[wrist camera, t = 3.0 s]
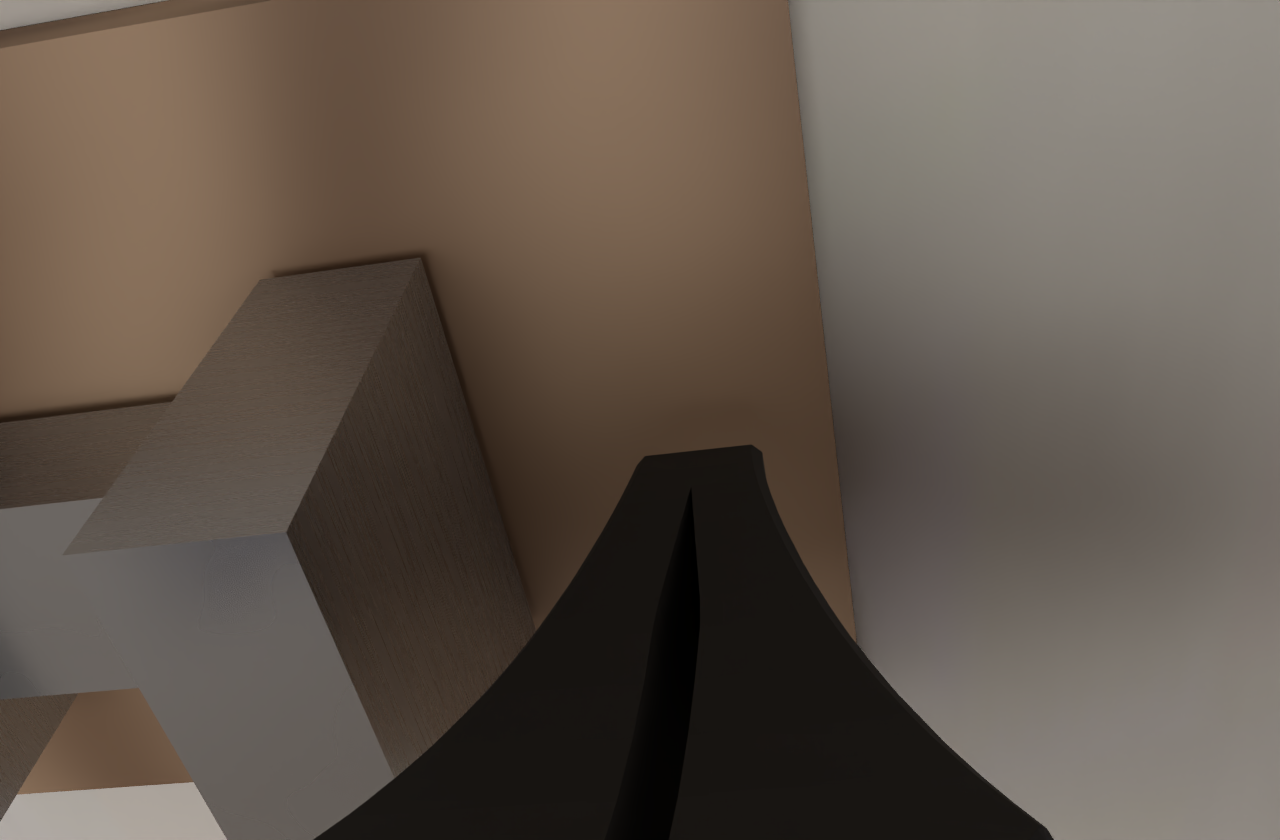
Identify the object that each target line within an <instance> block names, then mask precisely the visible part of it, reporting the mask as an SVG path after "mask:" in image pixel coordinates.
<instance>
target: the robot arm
mask: <svg viewBox="0 0 1280 840" xmlns="http://www.w3.org/2000/svg"><path fill="white" fill-rule="evenodd" d="M313 840H1054V839H1053V838H1052V836H1051V835H1050V833H1049V831H1048V830H1047V828H1045V827H1044V826H1043V825H1042V824H1040V823H1039V822H1038V821H1036V820H1035V819H1034V818H1033V817H1031V816H1030V815H1029V814H1027V813H1026V812H1025V811H1024V810H1022V809H1021V808H1020V807H1018V806H1017V805H1016V804H1014V803H1013V802H1012V801H1011V800H1010V799H1008V798H1007V797H1006V796H1005V795H1004V794H1002V793H1001V792H1000V791H999V790H997V789H996V788H995V787H994V786H993V785H991V784H990V783H989V782H988V781H987V780H985V779H984V778H983V777H982V776H981V775H980V774H979V773H978V772H976V771H975V770H974V769H973V768H972V767H971V766H970V765H969V764H968V763H966V762H965V761H964V760H963V759H962V758H961V757H960V756H959V755H958V754H957V753H955V752H954V751H953V750H952V749H951V748H950V747H949V746H948V745H947V744H946V743H945V742H944V741H943V740H942V739H941V738H940V737H939V736H938V735H937V734H936V733H935V732H934V731H933V730H932V729H931V728H930V727H929V726H928V725H927V724H926V723H925V722H924V721H923V720H922V719H921V718H920V717H919V715H918V714H917V713H916V712H915V711H914V710H913V709H912V708H911V707H910V706H909V705H908V704H907V703H906V702H905V701H904V700H903V699H902V698H901V697H900V696H899V695H898V694H897V693H896V691H895V690H894V689H893V688H892V687H891V686H890V684H889V683H888V682H887V681H886V680H885V679H884V677H883V676H882V675H881V674H880V673H879V671H878V670H877V669H876V668H875V667H874V665H873V664H872V663H871V662H870V661H869V659H868V658H867V657H866V655H865V654H864V653H863V651H862V650H861V649H860V648H859V646H858V645H857V644H856V642H855V641H854V640H853V639H852V637H851V636H850V634H849V633H848V632H847V630H846V629H845V628H844V626H843V625H842V623H841V622H840V620H839V619H838V617H837V616H836V615H835V613H834V612H833V610H832V609H831V607H830V606H829V604H828V602H827V601H826V599H825V598H824V596H823V595H822V593H821V591H820V590H819V588H818V587H817V585H816V584H815V582H814V580H813V579H812V577H811V575H810V573H809V572H808V570H807V568H806V567H805V565H804V563H803V561H802V559H801V557H800V555H799V554H798V552H797V550H796V548H795V546H794V544H793V542H792V540H791V538H790V536H789V534H788V532H787V530H786V528H785V526H784V524H783V522H782V520H781V517H780V515H779V513H778V510H777V508H776V505H775V503H774V500H773V498H772V495H771V492H770V489H769V486H768V483H767V480H766V473H765V466H764V460H763V453H762V452H761V451H760V450H759V449H757V448H756V447H754V446H753V445H752V444H750V445H741V446H732V447H723V448H714V449H705V450H695V451H686V452H677V453H668V454H659V455H650V456H644V458H643V459H642V460H641V461H640V462H639V463H638V464H637V466H636V468H635V470H634V472H633V474H632V476H631V478H630V480H629V482H628V484H627V486H626V488H625V490H624V492H623V494H622V496H621V498H620V500H619V502H618V504H617V506H616V507H615V509H614V511H613V513H612V515H611V517H610V518H609V520H608V522H607V524H606V525H605V527H604V529H603V531H602V533H601V534H600V536H599V537H598V539H597V541H596V542H595V544H594V546H593V547H592V549H591V551H590V552H589V554H588V555H587V557H586V559H585V560H584V562H583V564H582V565H581V567H580V569H579V570H578V572H577V573H576V575H575V576H574V578H573V579H572V581H571V583H570V584H569V585H568V587H567V588H566V590H565V591H564V593H563V594H562V595H561V597H560V598H559V600H558V601H557V603H556V604H555V605H554V607H553V608H552V610H551V611H550V612H549V614H548V615H547V617H546V618H545V620H544V621H543V622H542V624H541V625H540V627H539V628H538V629H537V631H536V632H535V633H534V635H533V636H532V637H531V638H530V640H529V641H528V642H527V644H526V645H525V646H524V647H523V649H522V650H521V651H520V652H519V654H518V655H517V656H516V657H515V658H514V660H513V661H512V662H511V663H510V665H509V666H508V667H507V668H506V669H505V670H504V671H503V673H502V674H501V675H500V676H499V677H498V678H497V680H496V681H495V682H494V683H493V684H492V685H491V686H490V688H489V689H488V690H487V691H486V692H485V693H484V694H483V695H482V696H481V697H480V698H479V699H478V700H477V701H476V702H475V703H474V705H473V706H472V707H471V708H470V709H469V710H468V711H467V712H466V713H465V714H464V715H463V716H462V717H461V718H460V719H459V720H458V721H457V722H456V723H455V724H454V725H453V726H452V727H451V728H450V729H449V730H448V731H447V732H446V733H445V734H444V735H443V736H442V737H441V738H440V739H439V740H437V741H436V742H435V743H434V744H433V745H432V746H431V747H430V748H429V749H428V750H427V751H426V752H425V753H423V754H422V755H421V756H420V757H419V758H418V759H416V760H415V761H414V762H413V763H412V764H411V765H410V766H408V767H407V768H406V769H405V770H404V771H403V772H401V773H400V774H399V775H398V776H397V777H395V778H394V779H393V780H392V781H391V782H389V783H388V784H387V785H386V786H384V787H383V788H382V789H381V790H379V791H378V792H377V793H376V794H374V795H373V796H372V797H371V798H369V799H368V800H367V801H366V802H364V803H363V804H362V805H360V806H359V807H358V808H356V809H355V810H354V811H353V812H351V813H350V814H349V815H347V816H346V817H345V818H343V819H342V820H340V821H339V822H337V823H336V824H335V825H333V826H332V827H330V828H329V829H327V830H326V831H325V832H323V833H322V834H320V835H319V836H317V837H316V838H315V839H313Z"/></svg>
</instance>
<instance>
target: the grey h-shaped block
mask: <svg viewBox="0 0 1280 840" xmlns="http://www.w3.org/2000/svg"><path fill="white" fill-rule="evenodd" d="M535 632H536V628H535V625H534V622H533V619H532V615H531V612H530V609H529V606H528V603H527V599H526V596H525V593H524V590H523V586H522V583H521V580H520V577H519V573H518V570H517V567H516V564H515V561H514V557H513V554H512V551H511V548H510V544H509V541H508V538H507V535H506V532H505V528H504V525H503V522H502V519H501V515H500V512H499V509H498V506H497V502H496V499H495V496H494V493H493V490H492V486H491V483H490V480H489V477H488V473H487V470H486V467H485V464H484V460H483V457H482V454H481V451H480V448H479V444H478V441H477V438H476V435H475V431H474V428H473V425H472V422H471V419H470V415H469V412H468V409H467V406H466V402H465V399H464V396H463V393H462V389H461V386H460V383H459V380H458V377H457V373H456V370H455V367H454V364H453V360H452V357H451V354H450V351H449V348H448V344H447V341H446V338H445V335H444V331H443V328H442V325H441V322H440V318H439V315H438V312H437V309H436V306H435V302H434V299H433V296H432V293H431V289H430V286H429V283H428V280H427V276H426V273H425V270H424V267H423V264H422V260H421V258H414V259H406V260H399V261H392V262H385V263H378V264H370V265H363V266H356V267H349V268H342V269H334V270H327V271H320V272H313V273H306V274H298V275H291V276H284V277H277V278H269V279H262V280H259V282H258V283H257V284H256V286H255V287H254V289H253V290H252V291H251V293H250V294H249V296H248V297H247V298H246V300H245V301H244V303H243V304H242V305H241V307H240V308H239V309H238V311H237V312H236V314H235V315H234V316H233V318H232V319H231V321H230V322H229V323H228V325H227V326H226V328H225V329H224V330H223V332H222V333H221V335H220V336H219V337H218V339H217V340H216V341H215V343H214V344H213V346H212V347H211V348H210V350H209V351H208V353H207V354H206V355H205V357H204V358H203V360H202V361H201V362H200V364H199V365H198V367H197V368H196V369H195V371H194V372H193V373H192V375H191V376H190V378H189V379H188V380H187V382H186V383H185V385H184V386H183V387H182V389H181V390H180V392H179V393H178V394H177V396H176V397H175V399H174V400H173V401H172V402H166V403H158V404H150V405H142V406H134V407H125V408H117V409H109V410H101V411H93V412H85V413H77V414H69V415H61V416H53V417H44V418H36V419H28V420H20V421H12V422H4V423H0V821H1V819H2V818H3V816H4V814H5V813H6V811H7V810H8V808H9V806H10V805H11V803H12V801H13V800H14V798H15V796H16V795H17V793H18V792H19V790H20V788H21V787H22V785H23V783H24V782H25V780H26V778H27V777H28V775H29V774H30V772H31V770H32V769H33V767H34V765H35V764H36V762H37V760H38V759H39V757H40V755H41V754H42V752H43V751H44V749H45V747H46V746H47V744H48V742H49V741H50V739H51V737H52V736H53V734H54V733H55V731H56V729H57V728H58V726H59V724H60V723H61V721H62V719H63V718H64V716H65V715H66V713H67V711H68V710H69V708H70V706H71V705H72V703H73V701H74V700H75V698H76V697H77V695H78V693H85V692H97V691H108V690H120V689H132V688H139V689H140V691H141V692H142V694H143V696H144V698H145V699H146V701H147V703H148V704H149V706H150V708H151V710H152V711H153V713H154V715H155V716H156V718H157V720H158V722H159V723H160V725H161V727H162V728H163V730H164V732H165V734H166V735H167V737H168V739H169V740H170V742H171V744H172V746H173V747H174V749H175V751H176V752H177V754H178V756H179V758H180V759H181V761H182V763H183V764H184V766H185V768H186V770H187V771H188V773H189V775H190V776H191V778H192V780H193V782H194V783H195V785H196V787H197V788H198V790H199V792H200V794H201V795H202V797H203V799H204V800H205V802H206V804H207V806H208V807H209V809H210V811H211V812H212V814H213V816H214V818H215V819H216V821H217V823H218V824H219V826H220V828H221V830H222V831H223V833H224V835H225V836H226V838H227V840H313V839H315V838H316V837H317V836H319V835H320V834H322V833H323V832H325V831H326V830H327V829H329V828H330V827H332V826H333V825H335V824H336V823H337V822H339V821H340V820H342V819H343V818H345V817H346V816H347V815H349V814H350V813H351V812H353V811H354V810H355V809H356V808H358V807H359V806H360V805H362V804H363V803H364V802H366V801H367V800H368V799H369V798H371V797H372V796H373V795H374V794H376V793H377V792H378V791H379V790H381V789H382V788H383V787H384V786H386V785H387V784H388V783H389V782H391V781H392V780H393V779H394V778H395V777H397V776H398V775H399V774H400V773H401V772H403V771H404V770H405V769H406V768H407V767H408V766H410V765H411V764H412V763H413V762H414V761H415V760H416V759H418V758H419V757H420V756H421V755H422V754H423V753H425V752H426V751H427V750H428V749H429V748H430V747H431V746H432V745H433V744H434V743H435V742H436V741H437V740H439V739H440V738H441V737H442V736H443V735H444V734H445V733H446V732H447V731H448V730H449V729H450V728H451V727H452V726H453V725H454V724H455V723H456V722H457V721H458V720H459V719H460V718H461V717H462V716H463V715H464V714H465V713H466V712H467V711H468V710H469V709H470V708H471V707H472V706H473V705H474V703H475V702H476V701H477V700H478V699H479V698H480V697H481V696H482V695H483V694H484V693H485V692H486V691H487V690H488V689H489V688H490V686H491V685H492V684H493V683H494V682H495V681H496V680H497V678H498V677H499V676H500V675H501V674H502V673H503V671H504V670H505V669H506V668H507V667H508V666H509V665H510V663H511V662H512V661H513V660H514V658H515V657H516V656H517V655H518V654H519V652H520V651H521V650H522V649H523V647H524V646H525V645H526V644H527V642H528V641H529V640H530V638H531V637H532V636H533V635H534V633H535Z"/></svg>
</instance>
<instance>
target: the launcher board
mask: <svg viewBox="0 0 1280 840" xmlns="http://www.w3.org/2000/svg"><path fill="white" fill-rule="evenodd" d="M414 258H421V260H422V264H423V267H424V270H425V273H426V276H427V280H428V283H429V286H430V289H431V293H432V296H433V299H434V302H435V306H436V309H437V312H438V315H439V318H440V322H441V325H442V328H443V331H444V335H445V338H446V341H447V344H448V348H449V351H450V354H451V357H452V360H453V364H454V367H455V370H456V373H457V377H458V380H459V383H460V386H461V389H462V393H463V396H464V399H465V402H466V406H467V409H468V412H469V415H470V419H471V422H472V425H473V428H474V431H475V435H476V438H477V441H478V444H479V448H480V451H481V454H482V457H483V460H484V464H485V467H486V470H487V473H488V477H489V480H490V483H491V486H492V490H493V493H494V496H495V499H496V502H497V506H498V509H499V512H500V515H501V519H502V522H503V525H504V528H505V532H506V535H507V538H508V541H509V544H510V548H511V551H512V554H513V557H514V561H515V564H516V567H517V570H518V573H519V577H520V580H521V583H522V586H523V590H524V593H525V596H526V599H527V603H528V606H529V609H530V612H531V615H532V619H533V622H534V625H535V628H536V631H537V629H538V628H539V627H540V625H541V624H542V622H543V621H544V620H545V618H546V617H547V615H548V614H549V612H550V611H551V610H552V608H553V607H554V605H555V604H556V603H557V601H558V600H559V598H560V597H561V595H562V594H563V593H564V591H565V590H566V588H567V587H568V585H569V584H570V583H571V581H572V579H573V578H574V576H575V575H576V573H577V572H578V570H579V569H580V567H581V565H582V564H583V562H584V560H585V559H586V557H587V555H588V554H589V552H590V551H591V549H592V547H593V546H594V544H595V542H596V541H597V539H598V537H599V536H600V534H601V533H602V531H603V529H604V527H605V525H606V524H607V522H608V520H609V518H610V517H611V515H612V513H613V511H614V509H615V507H616V506H617V504H618V502H619V500H620V498H621V496H622V494H623V492H624V490H625V488H626V486H627V484H628V482H629V480H630V478H631V476H632V474H633V472H634V470H635V468H636V466H637V464H638V463H639V462H640V461H641V460H642V459H643V458H644V456H650V455H659V454H668V453H677V452H686V451H695V450H705V449H714V448H723V447H732V446H741V445H750V444H752V445H753V446H754V447H756V448H757V449H759V450H760V451H761V452H762V453H763V460H764V466H765V473H766V480H767V483H768V486H769V489H770V492H771V495H772V498H773V500H774V503H775V505H776V508H777V510H778V513H779V515H780V517H781V520H782V522H783V524H784V526H785V528H786V530H787V532H788V534H789V536H790V538H791V540H792V542H793V544H794V546H795V548H796V550H797V552H798V554H799V555H800V557H801V559H802V561H803V563H804V565H805V567H806V568H807V570H808V572H809V573H810V575H811V577H812V579H813V580H814V582H815V584H816V585H817V587H818V588H819V590H820V591H821V593H822V595H823V596H824V598H825V599H826V601H827V602H828V604H829V606H830V607H831V609H832V610H833V612H834V613H835V615H836V616H837V617H838V619H839V620H840V622H841V623H842V625H843V626H844V628H845V629H846V630H847V632H848V633H849V634H850V636H851V637H852V639H853V640H854V641H855V642H856V644H857V641H856V632H855V622H854V613H853V604H852V594H851V585H850V576H849V566H848V557H847V548H846V538H845V529H844V520H843V510H842V501H841V492H840V483H839V473H838V464H837V455H836V445H835V436H834V427H833V417H832V408H831V399H830V389H829V380H828V371H827V361H826V352H825V343H824V333H823V324H822V315H821V305H820V296H819V287H818V277H817V268H816V259H815V249H814V240H813V231H812V221H811V212H810V203H809V193H808V184H807V175H806V165H805V156H804V147H803V137H802V128H801V119H800V109H799V100H798V91H797V81H796V72H795V63H794V53H793V44H792V35H791V25H790V16H789V7H788V0H169V1H163V2H158V3H152V4H146V5H141V6H135V7H130V8H124V9H119V10H113V11H107V12H102V13H96V14H91V15H85V16H80V17H74V18H68V19H63V20H57V21H52V22H46V23H41V24H35V25H29V26H24V27H18V28H13V29H7V30H2V31H0V423H4V422H12V421H20V420H28V419H36V418H44V417H53V416H61V415H69V414H77V413H85V412H93V411H101V410H109V409H117V408H125V407H134V406H142V405H150V404H158V403H166V402H172V401H173V400H174V399H175V397H176V396H177V394H178V393H179V392H180V390H181V389H182V387H183V386H184V385H185V383H186V382H187V380H188V379H189V378H190V376H191V375H192V373H193V372H194V371H195V369H196V368H197V367H198V365H199V364H200V362H201V361H202V360H203V358H204V357H205V355H206V354H207V353H208V351H209V350H210V348H211V347H212V346H213V344H214V343H215V341H216V340H217V339H218V337H219V336H220V335H221V333H222V332H223V330H224V329H225V328H226V326H227V325H228V323H229V322H230V321H231V319H232V318H233V316H234V315H235V314H236V312H237V311H238V309H239V308H240V307H241V305H242V304H243V303H244V301H245V300H246V298H247V297H248V296H249V294H250V293H251V291H252V290H253V289H254V287H255V286H256V284H257V283H258V282H259V280H262V279H269V278H277V277H284V276H291V275H298V274H306V273H313V272H320V271H327V270H334V269H342V268H349V267H356V266H363V265H370V264H378V263H385V262H392V261H399V260H406V259H414ZM186 782H193V780H192V778H191V776H190V775H189V773H188V771H187V770H186V768H185V766H184V764H183V763H182V761H181V759H180V758H179V756H178V754H177V752H176V751H175V749H174V747H173V746H172V744H171V742H170V740H169V739H168V737H167V735H166V734H165V732H164V730H163V728H162V727H161V725H160V723H159V722H158V720H157V718H156V716H155V715H154V713H153V711H152V710H151V708H150V706H149V704H148V703H147V701H146V699H145V698H144V696H143V694H142V692H141V691H140V689H139V688H132V689H120V690H108V691H97V692H85V693H78V695H77V697H76V698H75V700H74V701H73V703H72V705H71V706H70V708H69V710H68V711H67V713H66V715H65V716H64V718H63V719H62V721H61V723H60V724H59V726H58V728H57V729H56V731H55V733H54V734H53V736H52V737H51V739H50V741H49V742H48V744H47V746H46V747H45V749H44V751H43V752H42V754H41V755H40V757H39V759H38V760H37V762H36V764H35V765H34V767H33V769H32V770H31V772H30V774H29V775H28V777H27V778H26V780H25V782H24V783H23V785H22V787H21V788H20V790H19V792H18V793H17V794H30V793H44V792H58V791H72V790H87V789H101V788H115V787H129V786H144V785H158V784H172V783H186Z"/></svg>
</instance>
